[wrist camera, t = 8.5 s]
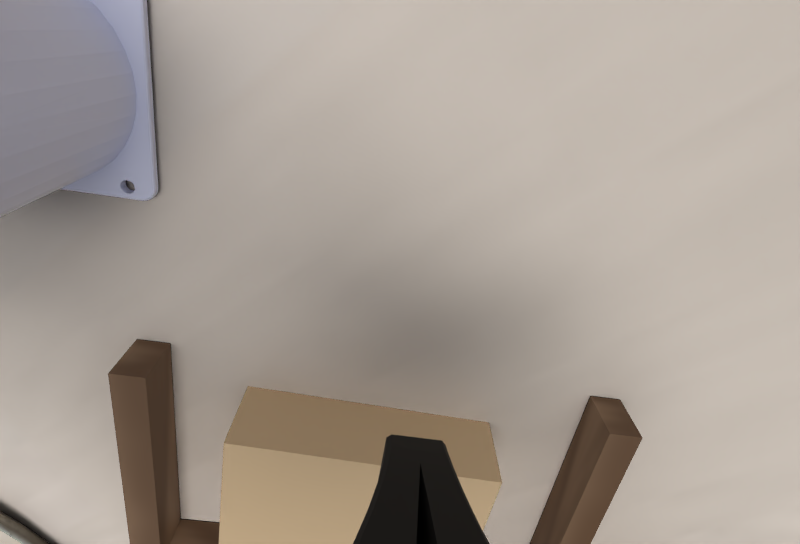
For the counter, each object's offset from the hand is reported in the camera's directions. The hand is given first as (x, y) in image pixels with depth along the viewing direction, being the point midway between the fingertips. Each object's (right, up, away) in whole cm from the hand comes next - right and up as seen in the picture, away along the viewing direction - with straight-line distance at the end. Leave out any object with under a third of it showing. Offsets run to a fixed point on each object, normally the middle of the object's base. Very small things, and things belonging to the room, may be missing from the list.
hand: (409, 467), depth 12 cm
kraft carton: (-2, -5, +15) cm, 16 cm away
